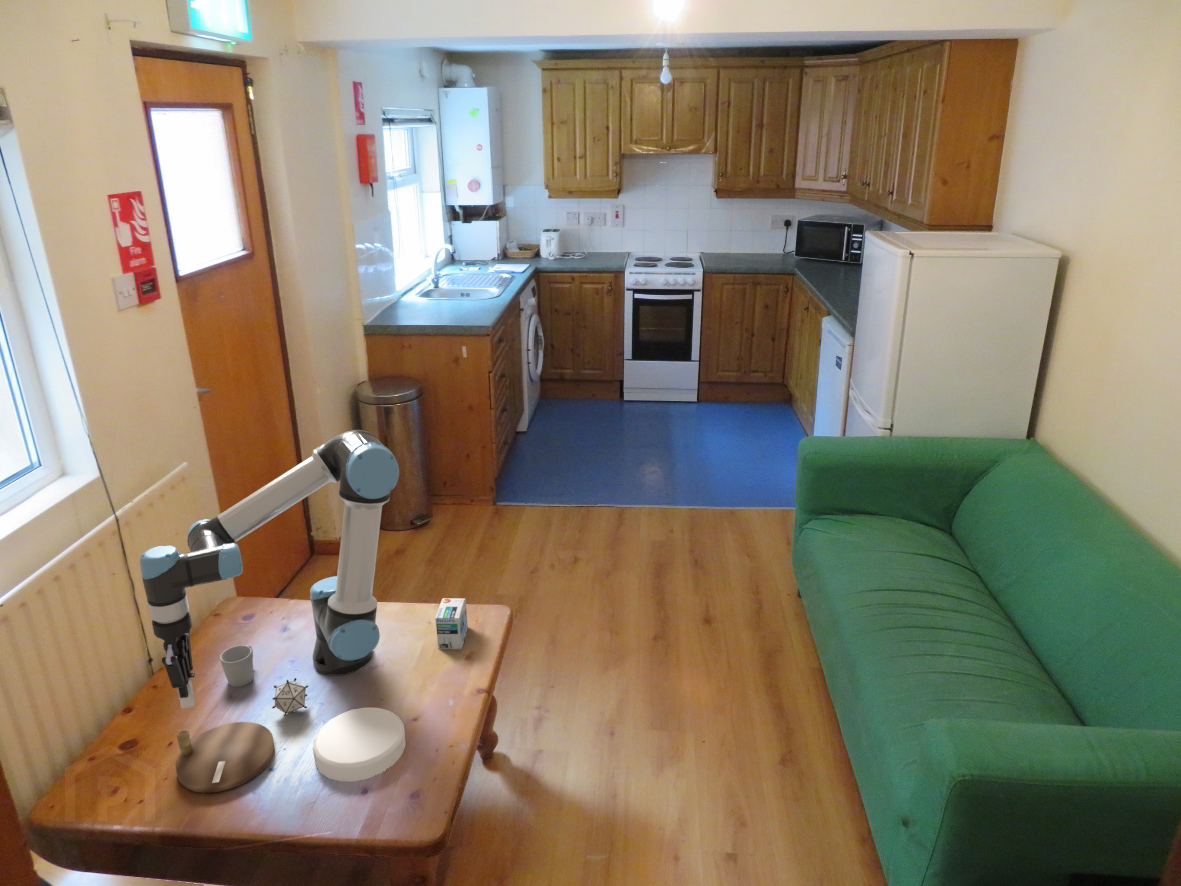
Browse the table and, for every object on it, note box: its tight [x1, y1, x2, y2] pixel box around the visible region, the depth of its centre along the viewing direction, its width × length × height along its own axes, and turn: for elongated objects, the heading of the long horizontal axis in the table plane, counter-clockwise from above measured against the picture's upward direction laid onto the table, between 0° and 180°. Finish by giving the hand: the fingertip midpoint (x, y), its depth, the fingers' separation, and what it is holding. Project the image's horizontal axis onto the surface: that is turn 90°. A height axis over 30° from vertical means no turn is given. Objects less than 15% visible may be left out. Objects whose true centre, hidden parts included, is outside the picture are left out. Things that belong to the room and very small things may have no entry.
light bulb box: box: [434, 597, 469, 650], centre depth 223 cm, size 11×7×11 cm, turn 179°
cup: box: [219, 644, 254, 688], centre depth 209 cm, size 8×10×8 cm
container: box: [312, 707, 406, 783], centre depth 184 cm, size 20×20×5 cm
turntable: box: [175, 721, 276, 794], centre depth 181 cm, size 20×20×7 cm
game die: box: [271, 677, 309, 717], centre depth 195 cm, size 9×8×10 cm
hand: (188, 705), depth 186 cm, fingers closed
